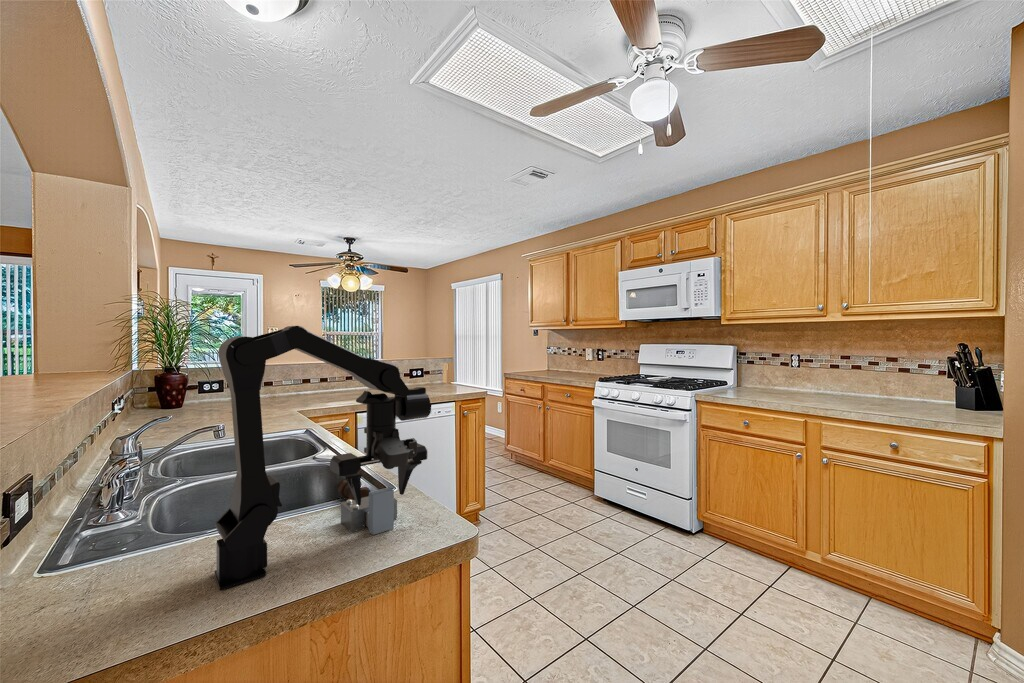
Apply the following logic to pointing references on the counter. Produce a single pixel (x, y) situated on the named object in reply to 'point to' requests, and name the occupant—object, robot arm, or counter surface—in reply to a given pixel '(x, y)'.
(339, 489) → the brown lumpy shape
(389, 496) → the handle
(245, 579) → the robot arm
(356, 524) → the housing
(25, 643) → the counter surface
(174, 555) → the counter surface
